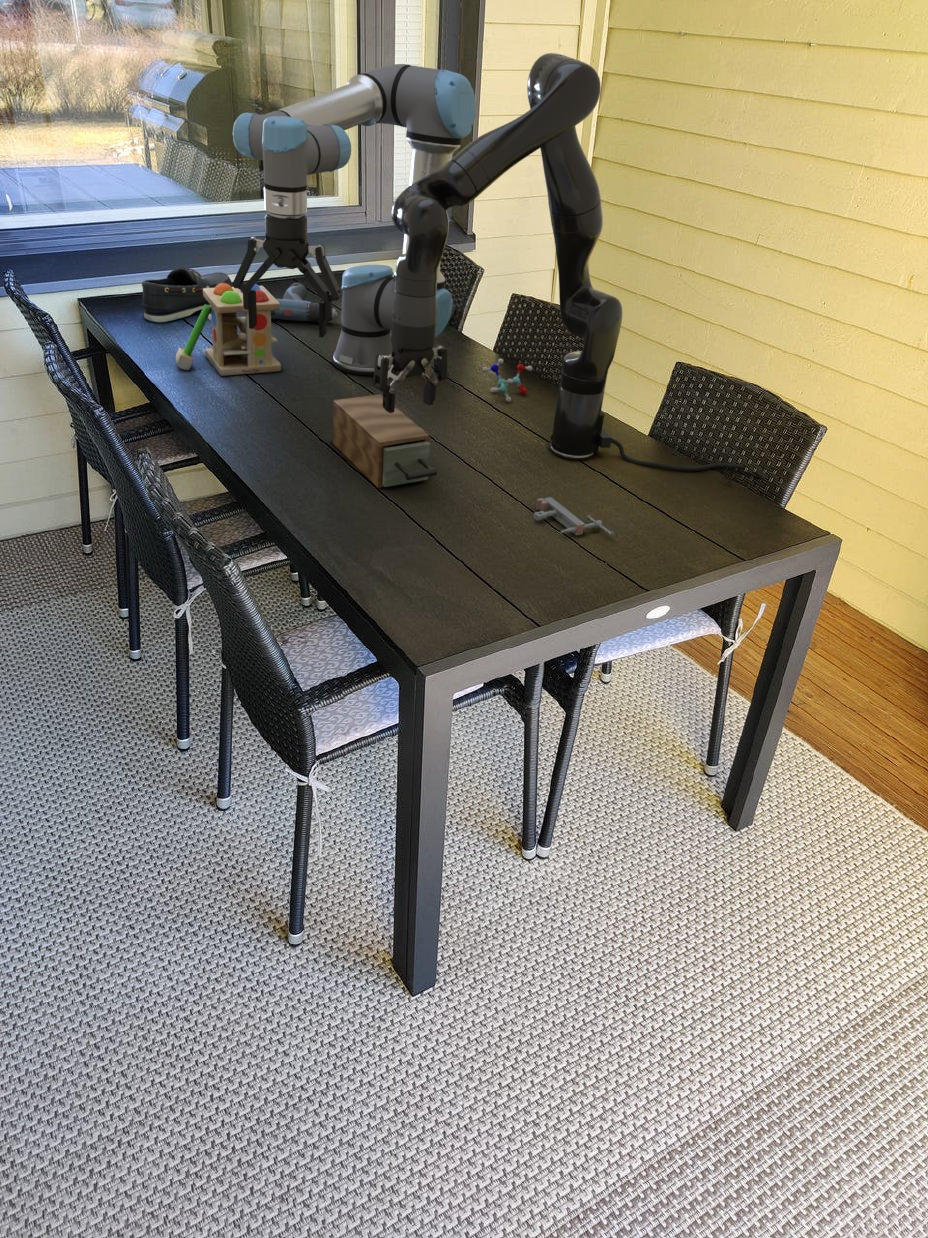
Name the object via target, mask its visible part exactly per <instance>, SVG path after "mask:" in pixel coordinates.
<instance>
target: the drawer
mask: <svg viewBox="0 0 928 1238" xmlns="http://www.w3.org/2000/svg"><path fill="white" fill-rule="evenodd" d="M430 454H431V443H430V442H428V441H426V442H421V440H419V441H413V442H406V443H400V444H393V445H387V446H383V465H382V479H383V480H382V485H383V486H384V487H383V488H388V487H394V486H398V485H404V484H410V483H416V482H423V481H428V480H429V477H434V476H437V475H438V470H437V469H438V468H436V467H432V466H430V456H431V455H430Z"/></svg>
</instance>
